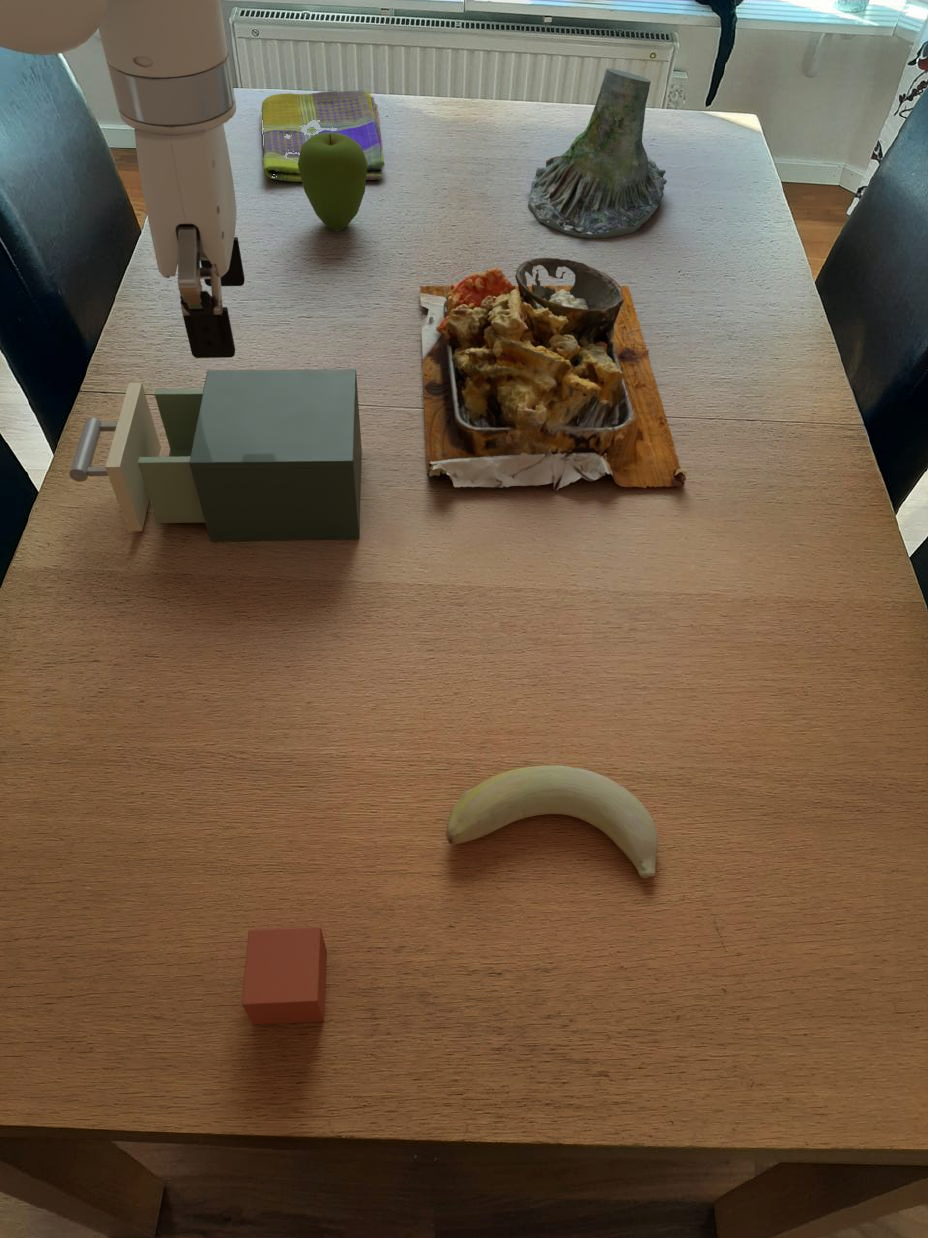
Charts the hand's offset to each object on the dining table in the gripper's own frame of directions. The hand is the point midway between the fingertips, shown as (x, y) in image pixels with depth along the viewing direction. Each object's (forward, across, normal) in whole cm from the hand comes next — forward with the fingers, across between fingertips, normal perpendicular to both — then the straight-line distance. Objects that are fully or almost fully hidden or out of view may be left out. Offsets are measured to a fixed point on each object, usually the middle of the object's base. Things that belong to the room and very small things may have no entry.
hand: (220, 318), depth 72 cm
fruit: (+19, +37, +24) cm, 48 cm away
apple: (+19, -50, +7) cm, 54 cm away
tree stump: (+19, -56, +43) cm, 73 cm away
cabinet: (+19, 0, +3) cm, 19 cm away
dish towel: (+19, -73, +5) cm, 75 cm away
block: (+19, +46, +5) cm, 50 cm away
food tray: (+19, -16, +30) cm, 39 cm away
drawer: (+18, 0, -7) cm, 19 cm away
